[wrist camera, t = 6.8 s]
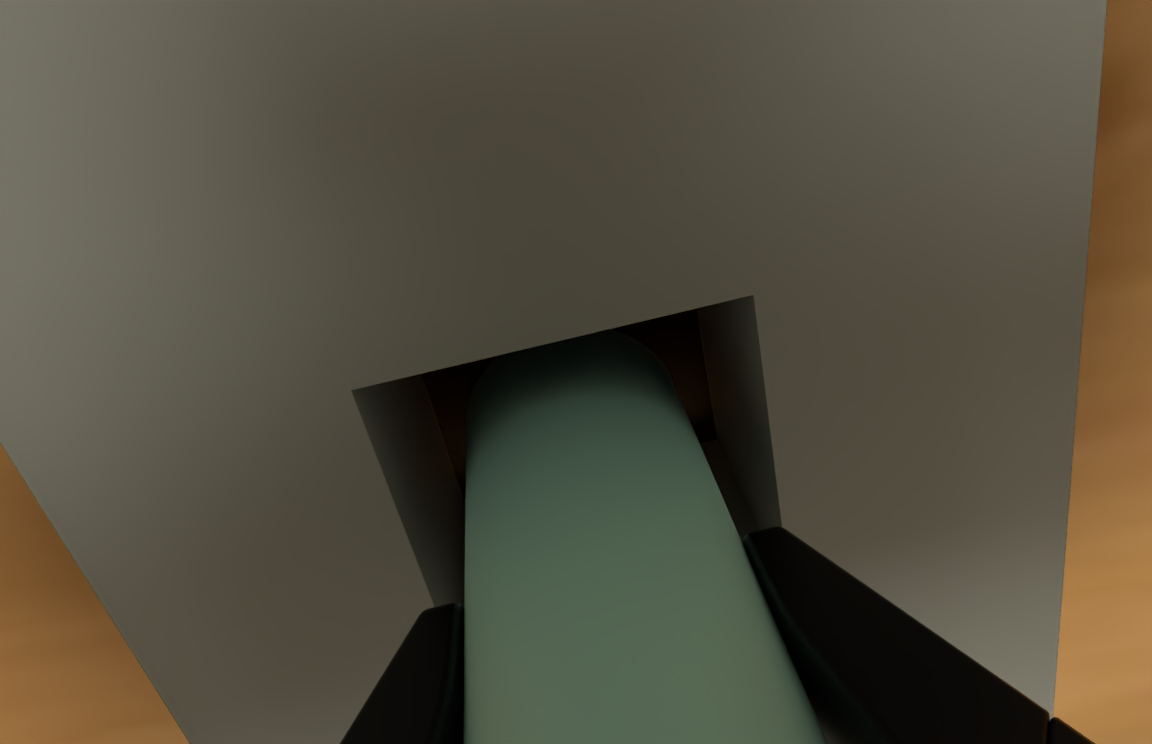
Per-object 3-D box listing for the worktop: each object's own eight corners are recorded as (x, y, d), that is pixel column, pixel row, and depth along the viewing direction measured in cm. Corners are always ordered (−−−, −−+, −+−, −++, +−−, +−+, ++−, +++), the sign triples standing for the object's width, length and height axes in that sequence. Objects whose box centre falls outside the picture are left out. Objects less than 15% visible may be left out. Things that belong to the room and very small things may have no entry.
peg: (496, 529, 13) (549, 1803, 4) (439, 354, 12) (345, 1721, 3) (693, 482, 13) (1152, 1665, 4) (660, 302, 12) (1247, 1517, 3)
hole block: (344, 731, 18) (312, 937, 14) (-31, -22, 11) (-271, 13, 7) (932, 592, 17) (1049, 764, 14) (916, -249, 11) (1131, -325, 7)
